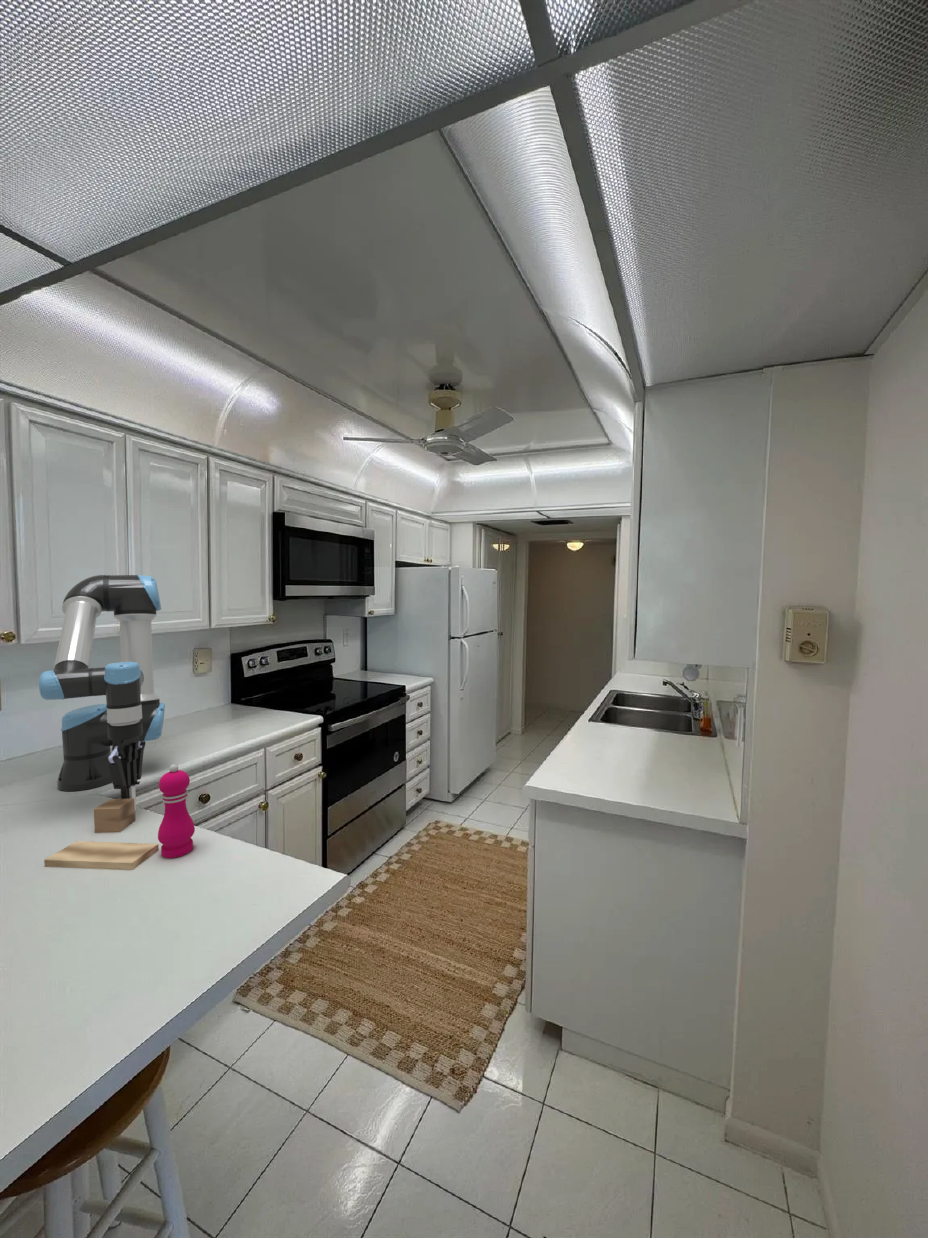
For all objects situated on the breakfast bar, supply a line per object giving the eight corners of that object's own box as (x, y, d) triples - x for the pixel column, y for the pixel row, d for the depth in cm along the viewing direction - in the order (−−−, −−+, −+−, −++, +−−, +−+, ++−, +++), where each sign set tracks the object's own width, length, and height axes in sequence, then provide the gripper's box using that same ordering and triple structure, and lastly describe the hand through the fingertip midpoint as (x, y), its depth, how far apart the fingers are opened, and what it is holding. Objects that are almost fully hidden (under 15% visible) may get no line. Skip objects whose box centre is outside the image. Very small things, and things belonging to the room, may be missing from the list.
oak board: (76, 849, 114) (76, 841, 114) (158, 852, 113) (158, 844, 112) (44, 869, 106) (44, 860, 106) (132, 872, 105) (131, 863, 104)
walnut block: (111, 822, 127) (110, 799, 127) (135, 821, 127) (134, 798, 127) (94, 833, 121) (93, 809, 121) (120, 832, 121) (118, 808, 121)
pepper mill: (202, 843, 115) (199, 759, 114) (181, 860, 108) (177, 770, 107) (173, 842, 116) (169, 758, 115) (150, 859, 109) (146, 769, 108)
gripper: (126, 716, 134) (130, 801, 136) (92, 729, 121) (97, 823, 123) (154, 715, 135) (158, 800, 136) (123, 728, 122) (128, 822, 123)
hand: (129, 811), depth 129 cm, fingers closed
